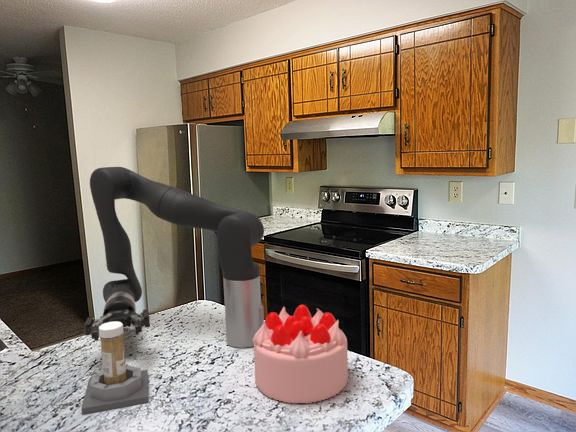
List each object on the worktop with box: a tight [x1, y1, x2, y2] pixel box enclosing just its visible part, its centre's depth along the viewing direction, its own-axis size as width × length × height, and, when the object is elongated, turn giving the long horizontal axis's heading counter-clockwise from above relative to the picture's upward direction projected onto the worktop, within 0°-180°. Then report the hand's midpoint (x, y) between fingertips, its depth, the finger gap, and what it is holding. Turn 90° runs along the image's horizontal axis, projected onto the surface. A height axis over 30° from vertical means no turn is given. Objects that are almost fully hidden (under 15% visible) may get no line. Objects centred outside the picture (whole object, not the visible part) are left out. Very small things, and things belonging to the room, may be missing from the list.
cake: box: [253, 304, 349, 404], centre depth 95 cm, size 20×20×14 cm
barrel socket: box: [80, 364, 149, 415], centre depth 92 cm, size 12×12×4 cm
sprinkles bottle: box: [99, 321, 127, 385], centre depth 91 cm, size 5×5×13 cm
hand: (116, 333), depth 99 cm, fingers open, 8 cm apart
